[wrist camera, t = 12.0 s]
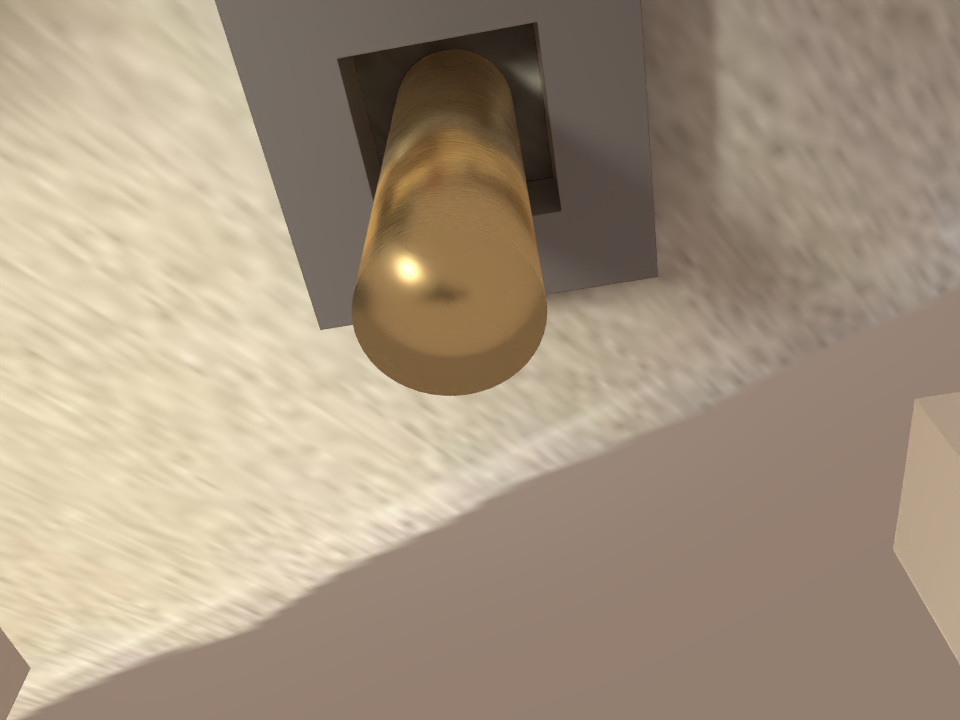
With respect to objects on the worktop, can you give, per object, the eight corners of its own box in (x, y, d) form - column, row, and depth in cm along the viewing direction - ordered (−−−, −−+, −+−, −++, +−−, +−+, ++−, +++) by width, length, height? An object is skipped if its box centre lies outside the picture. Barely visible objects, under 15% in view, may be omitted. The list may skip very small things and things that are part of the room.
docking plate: (331, 289, 33) (320, 329, 30) (229, -47, 26) (204, -32, 24) (642, 239, 32) (657, 276, 30) (616, -123, 26) (633, -114, 23)
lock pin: (409, 174, 30) (377, 407, 19) (383, 60, 28) (329, 244, 17) (520, 155, 30) (558, 380, 18) (503, 38, 28) (533, 210, 16)
